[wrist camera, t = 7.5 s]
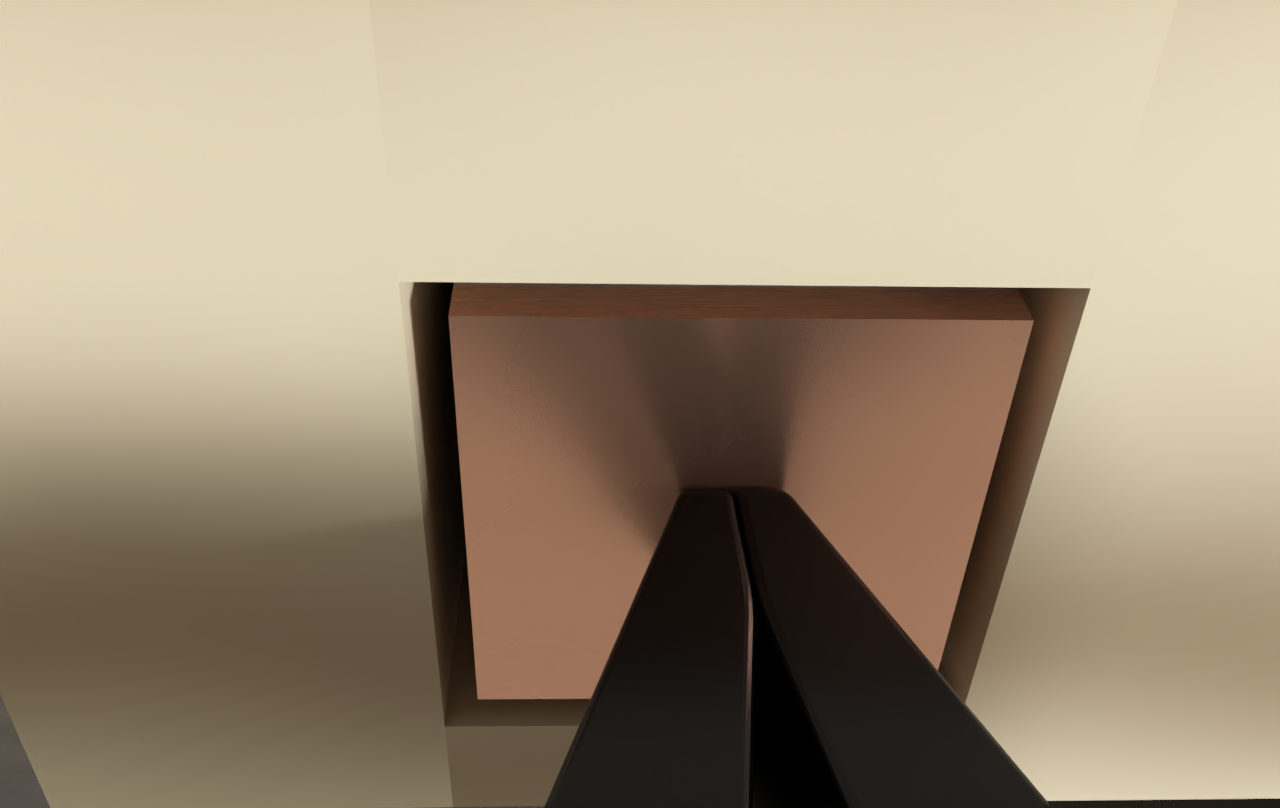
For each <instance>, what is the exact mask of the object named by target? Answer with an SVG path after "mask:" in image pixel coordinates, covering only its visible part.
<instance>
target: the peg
mask: <svg viewBox="0 0 1280 808" xmlns="http://www.w3.org/2000/svg"><path fill="white" fill-rule="evenodd" d="M448 317H449V330H450V343H451V356H452V369H453V382H454V395H455V408H456V422H457V435H458V448H459V461H460V474H461V487H462V500H463V513H464V526H465V540H466V553H467V566H468V579H469V592H470V605H471V618H472V631H473V644H474V658H475V671H476V684H477V697H478V699H591V697H592V695H593V692H594V690H595V688H596V685H597V683H598V681H599V678H600V676H601V674H602V671H603V669H604V667H605V664H606V662H607V660H608V657H609V655H610V653H611V650H612V648H613V646H614V643H615V641H616V639H617V637H618V634H619V632H620V630H621V627H622V625H623V623H624V620H625V618H626V616H627V613H628V611H629V609H630V606H631V604H632V602H633V599H634V597H635V595H636V592H637V590H638V588H639V585H640V583H641V581H642V578H643V576H644V574H645V571H646V569H647V567H648V564H649V562H650V560H651V557H652V555H653V553H654V550H655V548H656V546H657V543H658V541H659V539H660V536H661V534H662V532H663V529H664V527H665V525H666V522H667V520H668V518H669V515H670V513H671V511H672V508H673V506H674V504H675V501H676V499H677V497H678V496H679V495H680V494H681V493H682V492H684V491H688V490H723V491H727V492H729V493H730V494H731V495H732V496H733V498H734V497H735V495H736V494H737V493H738V492H740V491H784V492H786V493H788V494H789V495H791V496H792V497H793V499H794V500H795V501H796V502H797V503H798V504H799V506H800V507H801V508H802V509H803V510H804V512H805V513H806V514H807V515H808V516H809V518H810V519H811V520H812V521H813V522H814V524H815V525H816V526H817V527H818V528H819V530H820V531H821V532H822V533H823V534H824V536H825V537H826V538H827V539H828V540H829V541H830V543H831V544H832V545H833V546H834V547H835V549H836V550H837V551H838V552H839V553H840V555H841V556H842V557H843V558H844V559H845V561H846V562H847V563H848V564H849V565H850V567H851V568H852V569H853V570H854V571H855V572H856V574H857V575H858V576H859V577H860V578H861V580H862V581H863V582H864V583H865V584H866V586H867V587H868V588H869V589H870V590H871V592H872V593H873V594H874V595H875V596H876V598H877V599H878V600H879V601H880V602H881V604H882V605H883V606H884V607H885V608H886V609H887V611H888V612H889V613H890V614H891V615H892V617H893V618H894V619H895V620H896V621H897V623H898V624H899V625H900V626H901V627H902V629H903V630H904V631H905V632H906V633H907V635H908V636H909V637H910V638H911V639H912V641H913V642H914V643H915V644H916V645H917V646H918V648H919V649H920V650H921V651H922V652H923V654H924V655H925V656H926V657H927V658H928V660H929V661H930V662H931V663H932V664H933V666H934V667H935V668H936V669H937V670H938V669H939V665H940V661H941V658H942V654H943V650H944V647H945V643H946V640H947V636H948V632H949V629H950V625H951V621H952V618H953V614H954V610H955V607H956V603H957V599H958V596H959V592H960V588H961V585H962V581H963V577H964V574H965V570H966V567H967V563H968V559H969V556H970V552H971V548H972V545H973V541H974V537H975V534H976V530H977V526H978V523H979V519H980V515H981V512H982V508H983V504H984V501H985V497H986V494H987V490H988V486H989V483H990V479H991V475H992V472H993V468H994V464H995V461H996V457H997V453H998V450H999V446H1000V442H1001V439H1002V435H1003V432H1004V428H1005V424H1006V421H1007V417H1008V413H1009V410H1010V406H1011V402H1012V399H1013V395H1014V391H1015V388H1016V384H1017V380H1018V377H1019V373H1020V369H1021V366H1022V362H1023V359H1024V355H1025V351H1026V348H1027V344H1028V340H1029V337H1030V333H1031V329H1032V326H1033V322H1034V320H1033V318H1032V316H1031V314H1030V312H1029V310H1028V308H1027V306H1026V304H1025V302H1024V300H1023V299H1022V297H1021V295H1020V293H1019V291H1018V289H1017V288H1010V287H902V286H794V285H687V284H579V283H471V282H454V285H453V291H452V297H451V303H450V309H449V315H448Z"/></svg>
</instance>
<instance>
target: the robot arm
mask: <svg viewBox="0 0 1280 808" xmlns="http://www.w3.org/2000/svg"><path fill="white" fill-rule="evenodd" d="M544 808H1050V806H1049V803H1048V802H1047V800H1046V799H1045V798H1044V797H1043V796H1042V794H1041V793H1040V792H1039V791H1038V790H1037V788H1036V787H1035V786H1034V785H1033V784H1032V783H1031V781H1030V780H1029V779H1028V778H1027V777H1026V775H1025V774H1024V773H1023V772H1022V771H1021V769H1020V768H1019V767H1018V766H1017V765H1016V763H1015V762H1014V761H1013V760H1012V759H1011V757H1010V756H1009V755H1008V754H1007V753H1006V751H1005V750H1004V749H1003V748H1002V747H1001V746H1000V744H999V743H998V742H997V741H996V740H995V738H994V737H993V736H992V735H991V734H990V732H989V731H988V730H987V729H986V728H985V726H984V725H983V724H982V723H981V722H980V720H979V719H978V718H977V717H976V716H975V714H974V713H973V712H972V711H971V710H970V709H969V707H968V706H967V705H966V704H965V703H964V701H963V700H962V699H961V698H960V697H959V695H958V694H957V693H956V692H955V691H954V689H953V688H952V687H951V686H950V685H949V683H948V682H947V681H946V680H945V679H944V678H943V676H942V675H941V674H940V673H939V672H938V670H937V669H936V668H935V667H934V666H933V664H932V663H931V662H930V661H929V660H928V658H927V657H926V656H925V655H924V654H923V652H922V651H921V650H920V649H919V648H918V646H917V645H916V644H915V643H914V642H913V641H912V639H911V638H910V637H909V636H908V635H907V633H906V632H905V631H904V630H903V629H902V627H901V626H900V625H899V624H898V623H897V621H896V620H895V619H894V618H893V617H892V615H891V614H890V613H889V612H888V611H887V609H886V608H885V607H884V606H883V605H882V604H881V602H880V601H879V600H878V599H877V598H876V596H875V595H874V594H873V593H872V592H871V590H870V589H869V588H868V587H867V586H866V584H865V583H864V582H863V581H862V580H861V578H860V577H859V576H858V575H857V574H856V572H855V571H854V570H853V569H852V568H851V567H850V565H849V564H848V563H847V562H846V561H845V559H844V558H843V557H842V556H841V555H840V553H839V552H838V551H837V550H836V549H835V547H834V546H833V545H832V544H831V543H830V541H829V540H828V539H827V538H826V537H825V536H824V534H823V533H822V532H821V531H820V530H819V528H818V527H817V526H816V525H815V524H814V522H813V521H812V520H811V519H810V518H809V516H808V515H807V514H806V513H805V512H804V510H803V509H802V508H801V507H800V506H799V504H798V503H797V502H796V501H795V500H794V499H793V497H792V496H791V495H789V494H788V493H786V492H784V491H740V492H738V493H737V494H736V495H735V497H734V498H733V496H732V495H731V494H730V493H729V492H727V491H723V490H688V491H684V492H682V493H681V494H680V495H679V496H678V497H677V499H676V501H675V504H674V506H673V508H672V511H671V513H670V515H669V518H668V520H667V522H666V525H665V527H664V529H663V532H662V534H661V536H660V539H659V541H658V543H657V546H656V548H655V550H654V553H653V555H652V557H651V560H650V562H649V564H648V567H647V569H646V571H645V574H644V576H643V578H642V581H641V583H640V585H639V588H638V590H637V592H636V595H635V597H634V599H633V602H632V604H631V606H630V609H629V611H628V613H627V616H626V618H625V620H624V623H623V625H622V627H621V630H620V632H619V634H618V637H617V639H616V641H615V643H614V646H613V648H612V650H611V653H610V655H609V657H608V660H607V662H606V664H605V667H604V669H603V671H602V674H601V676H600V678H599V681H598V683H597V685H596V688H595V690H594V692H593V695H592V697H591V699H590V702H589V704H588V706H587V709H586V711H585V713H584V716H583V718H582V720H581V723H580V725H579V727H578V730H577V732H576V734H575V737H574V739H573V741H572V744H571V746H570V748H569V751H568V753H567V755H566V758H565V760H564V762H563V765H562V767H561V769H560V772H559V774H558V776H557V778H556V781H555V783H554V785H553V788H552V790H551V792H550V795H549V797H548V799H547V802H546V804H545V806H544Z"/></svg>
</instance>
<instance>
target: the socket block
mask: <svg viewBox="0 0 1280 808" xmlns="http://www.w3.org/2000/svg"><path fill="white" fill-rule="evenodd" d="M454 282H471V283H579V284H687V285H794V286H902V287H1010V288H1017V289H1018V291H1019V293H1020V295H1021V297H1022V299H1023V300H1024V302H1025V304H1026V306H1027V308H1028V310H1029V312H1030V314H1031V316H1032V318H1033V320H1034V322H1033V326H1032V329H1031V333H1030V337H1029V340H1028V344H1027V348H1026V351H1025V355H1024V359H1023V362H1022V366H1021V369H1020V373H1019V377H1018V380H1017V384H1016V388H1015V391H1014V395H1013V399H1012V402H1011V406H1010V410H1009V413H1008V417H1007V421H1006V424H1005V428H1004V432H1003V435H1002V439H1001V442H1000V446H999V450H998V453H997V457H996V461H995V464H994V468H993V472H992V475H991V479H990V483H989V486H988V490H987V494H986V497H985V501H984V504H983V508H982V512H981V515H980V519H979V523H978V526H977V530H976V534H975V537H974V541H973V545H972V548H971V552H970V556H969V559H968V563H967V567H966V570H965V574H964V577H963V581H962V585H961V588H960V592H959V596H958V599H957V603H956V607H955V610H954V614H953V618H952V621H951V625H950V629H949V632H948V636H947V640H946V643H945V647H944V650H943V654H942V658H941V661H940V665H939V669H938V672H939V673H940V674H941V675H942V676H943V678H944V679H945V680H946V681H947V682H948V683H949V685H950V686H951V687H952V688H953V689H954V691H955V692H956V693H957V694H958V695H959V697H960V698H961V699H962V700H963V701H964V703H965V704H966V705H967V706H968V707H969V709H970V710H971V711H972V712H973V713H974V714H975V716H976V717H977V718H978V719H979V720H980V722H981V723H982V724H983V725H984V726H985V728H986V729H987V730H988V731H989V732H990V734H991V735H992V736H993V737H994V738H995V740H996V741H997V742H998V743H999V744H1000V746H1001V747H1002V748H1003V749H1004V750H1005V751H1006V753H1007V754H1008V755H1009V756H1010V757H1011V759H1012V760H1013V761H1014V762H1015V763H1016V765H1017V766H1018V767H1019V768H1020V769H1021V771H1022V772H1023V773H1024V774H1025V775H1026V777H1027V778H1028V779H1029V780H1030V781H1031V783H1032V784H1033V785H1034V786H1035V787H1036V788H1037V790H1038V791H1039V792H1040V793H1041V794H1042V796H1043V797H1044V798H1045V799H1046V800H1047V801H1089V800H1186V799H1280V0H0V695H1V698H2V700H3V702H4V704H5V707H6V709H7V711H8V713H9V716H10V718H11V720H12V722H13V725H14V727H15V729H16V731H17V734H18V736H19V738H20V740H21V743H22V745H23V747H24V749H25V752H26V754H27V756H28V758H29V761H30V763H31V765H32V767H33V770H34V772H35V774H36V776H37V779H38V781H39V783H40V785H41V788H42V790H43V792H44V794H45V797H46V799H47V801H48V803H49V806H50V808H415V807H511V806H545V804H546V802H547V799H548V797H549V795H550V792H551V790H552V788H553V785H554V783H555V781H556V778H557V776H558V774H559V772H560V769H561V767H562V765H563V762H564V760H565V758H566V755H567V753H568V751H569V748H570V746H571V744H572V741H573V739H574V737H575V734H576V732H577V730H578V727H579V725H580V723H581V720H582V718H583V716H584V713H585V711H586V709H587V706H588V704H589V702H590V699H478V697H477V684H476V671H475V658H474V644H473V631H472V618H471V605H470V592H469V579H468V566H467V553H466V540H465V526H464V513H463V500H462V487H461V474H460V461H459V448H458V435H457V422H456V408H455V395H454V382H453V369H452V356H451V343H450V330H449V317H448V315H449V309H450V303H451V297H452V291H453V285H454Z"/></svg>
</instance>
